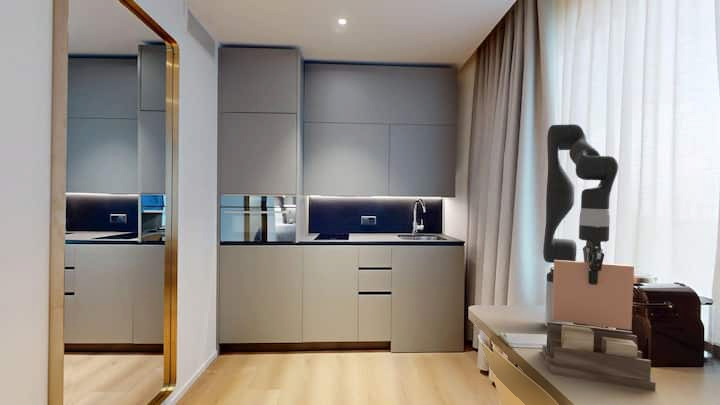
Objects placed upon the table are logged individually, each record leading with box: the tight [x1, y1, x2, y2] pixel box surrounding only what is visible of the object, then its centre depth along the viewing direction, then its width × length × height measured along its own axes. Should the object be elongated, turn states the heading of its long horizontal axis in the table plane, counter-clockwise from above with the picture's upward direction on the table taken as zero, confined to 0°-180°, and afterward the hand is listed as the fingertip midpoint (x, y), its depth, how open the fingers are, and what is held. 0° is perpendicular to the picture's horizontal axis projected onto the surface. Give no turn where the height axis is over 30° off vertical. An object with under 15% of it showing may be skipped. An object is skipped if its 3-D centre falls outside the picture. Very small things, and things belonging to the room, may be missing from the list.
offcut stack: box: [561, 325, 638, 358], centre depth 103 cm, size 4×17×10 cm, turn 71°
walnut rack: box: [541, 321, 657, 391], centre depth 107 cm, size 16×24×10 cm, turn 71°
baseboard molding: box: [498, 332, 547, 350], centre depth 125 cm, size 31×3×12 cm
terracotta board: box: [552, 260, 635, 331], centre depth 111 cm, size 2×20×18 cm, turn 71°
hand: (591, 283), depth 111 cm, fingers closed on terracotta board, 2 cm apart
